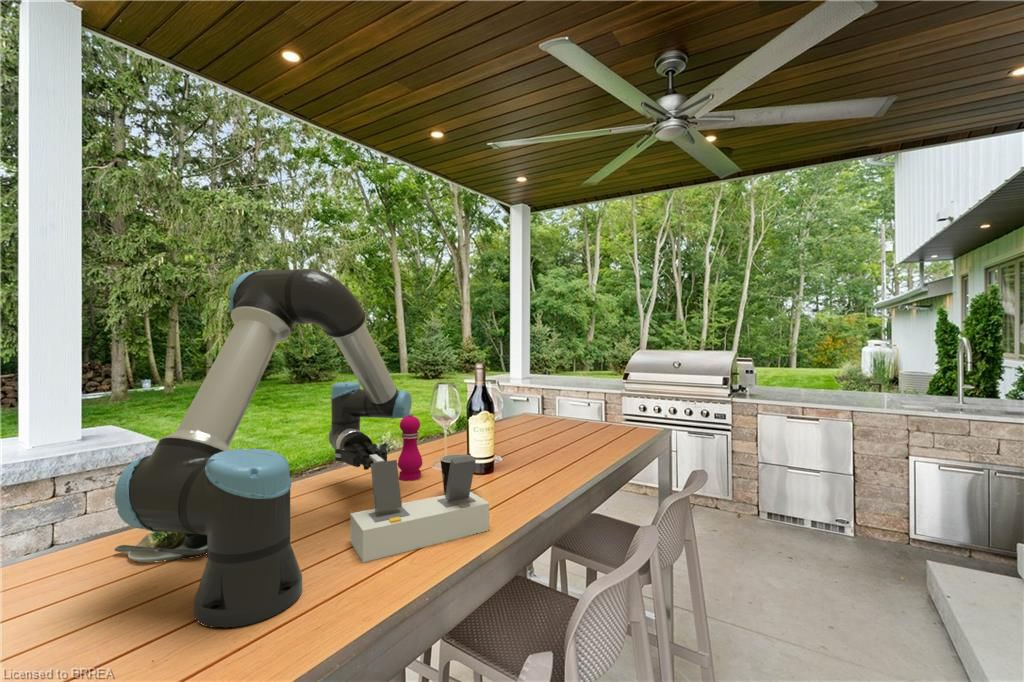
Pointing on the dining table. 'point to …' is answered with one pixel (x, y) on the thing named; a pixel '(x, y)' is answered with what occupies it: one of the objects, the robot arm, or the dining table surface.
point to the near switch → (386, 485)
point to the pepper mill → (410, 449)
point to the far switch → (460, 478)
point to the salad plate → (166, 546)
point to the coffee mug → (448, 467)
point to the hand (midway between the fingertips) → (381, 467)
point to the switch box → (417, 525)
